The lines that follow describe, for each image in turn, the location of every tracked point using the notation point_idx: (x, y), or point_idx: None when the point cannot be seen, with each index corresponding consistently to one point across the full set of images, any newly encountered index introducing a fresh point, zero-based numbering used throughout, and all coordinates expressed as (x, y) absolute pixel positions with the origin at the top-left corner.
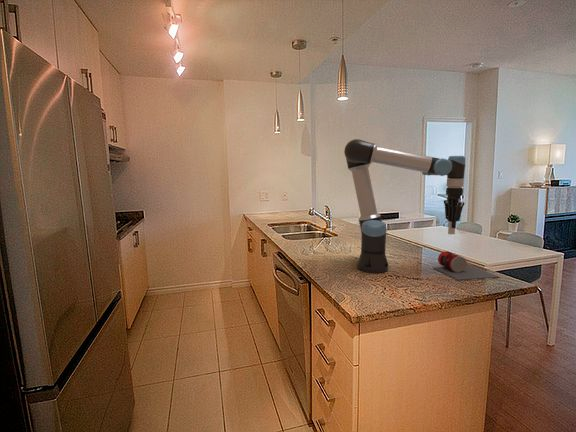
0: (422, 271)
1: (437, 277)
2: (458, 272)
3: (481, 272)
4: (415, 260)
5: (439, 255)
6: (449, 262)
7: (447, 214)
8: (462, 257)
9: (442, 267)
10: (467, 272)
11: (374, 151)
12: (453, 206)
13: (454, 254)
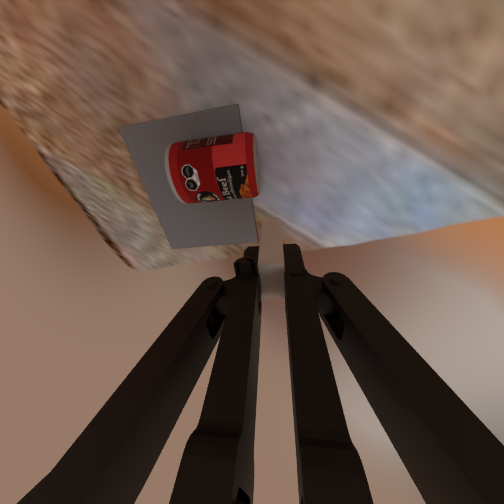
0: (200, 25)
1: (135, 63)
2: None
3: (198, 231)
4: (361, 77)
5: (247, 137)
6: (179, 142)
7: (343, 317)
8: (173, 191)
9: None
10: None
11: None
12: (181, 484)
13: (196, 178)
